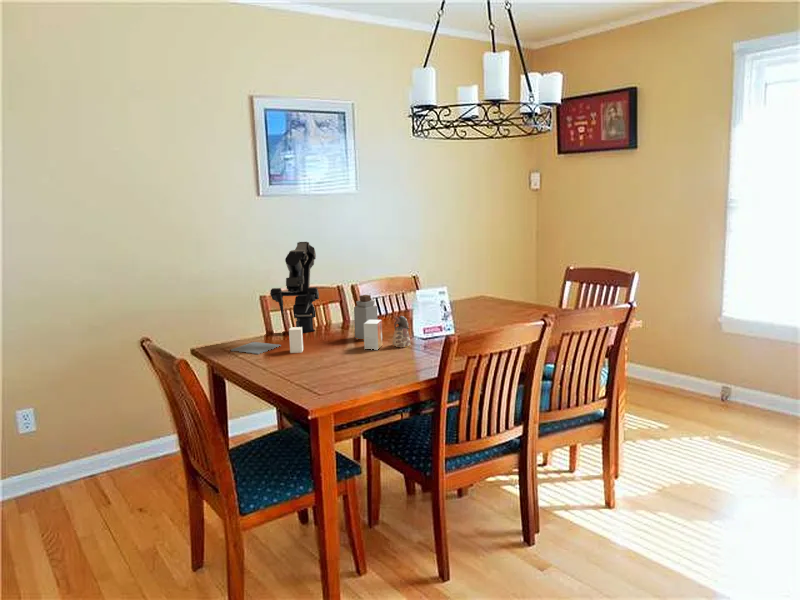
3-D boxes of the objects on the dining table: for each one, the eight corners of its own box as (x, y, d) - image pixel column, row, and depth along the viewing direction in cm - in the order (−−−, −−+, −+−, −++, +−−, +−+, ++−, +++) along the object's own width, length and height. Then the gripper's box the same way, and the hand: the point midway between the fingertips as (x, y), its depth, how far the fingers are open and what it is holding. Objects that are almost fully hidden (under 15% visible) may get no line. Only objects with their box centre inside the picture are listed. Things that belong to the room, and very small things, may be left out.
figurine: (412, 347, 246) (412, 317, 244) (394, 348, 245) (394, 318, 243) (408, 343, 253) (408, 313, 251) (391, 344, 252) (390, 314, 250)
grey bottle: (378, 337, 263) (376, 295, 260) (367, 341, 258) (365, 297, 255) (366, 335, 267) (364, 293, 264) (355, 338, 262) (353, 296, 259)
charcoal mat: (253, 342, 259) (253, 341, 259) (281, 346, 253) (281, 344, 253) (229, 350, 247) (229, 349, 247) (258, 354, 241) (258, 353, 241)
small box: (378, 350, 242) (377, 323, 240) (364, 350, 243) (363, 323, 242) (383, 345, 250) (382, 319, 248) (369, 345, 251) (368, 319, 249)
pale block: (291, 350, 246) (290, 327, 245) (303, 349, 247) (302, 327, 245) (290, 353, 242) (288, 329, 240) (302, 352, 242) (300, 329, 241)
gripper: (269, 268, 250) (265, 304, 243) (316, 267, 250) (314, 303, 243) (274, 282, 260) (271, 316, 253) (319, 281, 260) (318, 315, 253)
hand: (293, 312), depth 250 cm, fingers open, 9 cm apart
